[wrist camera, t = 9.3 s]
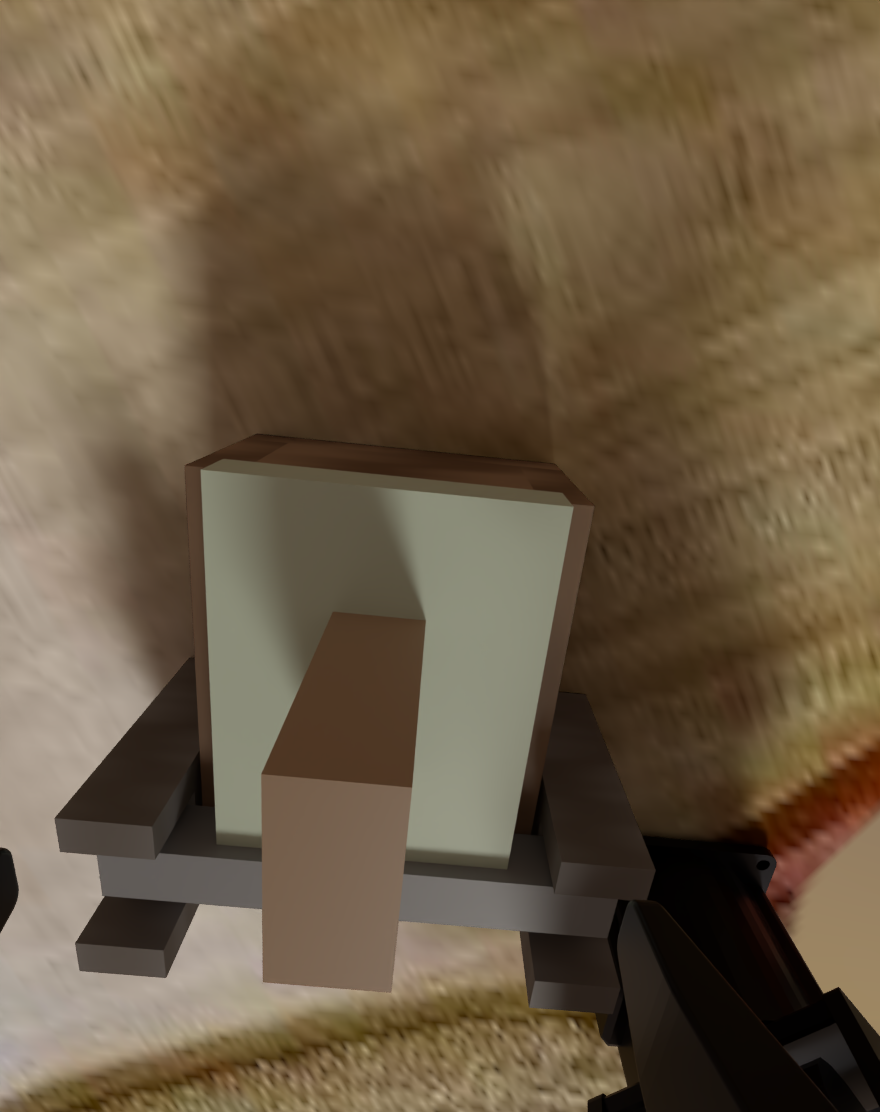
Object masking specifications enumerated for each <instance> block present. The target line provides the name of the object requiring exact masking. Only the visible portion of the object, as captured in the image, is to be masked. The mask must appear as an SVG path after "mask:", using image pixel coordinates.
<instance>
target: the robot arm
mask: <svg viewBox="0 0 880 1112" xmlns="http://www.w3.org/2000/svg"><path fill="white" fill-rule="evenodd" d="M642 837H643V840H644V842H645V845H646V847H647V850H648V852H649V855H650V857H651V860H652V862H653V865H654V867H655V870H656V871H655V874H654V878H653V881H652V884H651V888H650V891H649V894H648V898H647V900H638V899H633V900H619V899H618V901H617V905H616V909H615V912H614V916H613V919H612V923H611V927H610V930H609V934H608V937H607V940H608V944H609V947H610V951H611V955H612V958H613V962H614V966H615V970H616V973H617V977H618V981H619V984H620V991H619V995H618V998H617V1001H616V1005H615V1008H614V1011H613V1014H605V1013H595V1014H596V1019H597V1023H598V1028H599V1032H600V1036H601V1038H602V1039H603V1040H604V1042H605V1043H606V1044H607V1045H608V1046H617V1047H618V1050H619V1054H620V1058H621V1062H622V1066H623V1071H624V1075H625V1079H626V1083H627V1087H626V1088H623V1089H621V1090H619V1091H617V1092H614V1093H612V1094H610V1095H608V1096H606V1095H605V1094H601V1095H598V1096H596V1097H594V1098H592V1099H590V1100H588V1112H880V1036H879V1035H878V1034H877V1033H876V1031H875V1030H874V1029H873V1028H872V1027H871V1025H870V1024H869V1023H868V1022H867V1020H866V1019H865V1018H864V1017H863V1016H862V1014H861V1013H860V1012H859V1011H858V1009H857V1008H856V1007H855V1006H854V1005H853V1003H852V1002H851V1001H850V1000H849V999H848V997H847V996H846V995H845V994H844V993H843V991H842V990H841V989H840V988H839V987H838V988H835V989H833V990H831V991H829V992H827V993H824V994H823V992H822V990H821V989H820V987H819V985H818V984H817V982H816V980H815V978H814V977H813V975H812V973H811V972H810V970H809V968H808V967H807V965H806V963H805V961H804V960H803V958H802V956H801V954H800V953H799V951H798V949H797V948H796V946H795V944H794V942H793V941H792V939H791V937H790V936H789V934H788V932H787V930H786V929H785V927H784V925H783V924H782V922H781V920H780V918H779V917H778V915H777V913H776V912H775V910H774V908H773V906H772V905H771V903H770V901H769V900H768V898H767V896H766V894H765V893H766V891H767V888H768V886H769V883H770V880H771V878H772V875H773V873H774V870H775V868H776V863H777V862H776V860H775V858H774V857H773V855H772V854H771V852H770V850H768V849H767V848H765V847H760V846H749V845H737V844H726V843H715V842H703V841H692V840H680V839H669V838H657V837H646V836H642ZM18 891H19V888H18V882H17V878H16V873H15V868H14V863H13V858H12V854H11V852H10V851H9V850H8V849H6V848H0V933H1V931H2V929H3V927H4V925H5V924H6V922H7V920H8V918H9V916H10V915H11V913H12V911H13V909H14V907H15V904H16V902H17V898H18Z"/></svg>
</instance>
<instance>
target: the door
mask: <svg viewBox="0 0 880 1112" xmlns="http://www.w3.org/2000/svg"><path fill="white" fill-rule="evenodd" d="M201 491H202V514H203V537H204V561H205V584H206V608H207V631H208V654H209V678H210V701H211V724H212V748H213V771H214V794H215V807H208V806H197V805H187V806H186V807H185V809H184V811H183V812H182V814H181V816H180V818H179V819H178V821H177V823H176V825H175V826H174V828H173V830H172V832H171V833H170V835H169V837H168V839H167V840H166V842H165V844H164V846H163V847H162V849H161V851H160V853H159V854H158V856H157V858H156V859H155V860H150V859H138V858H126V857H114V856H103V855H97V859H98V867H99V874H100V881H101V889H102V896H111V897H123V898H135V899H147V900H159V901H171V902H182V903H194V904H206V905H218V906H230V907H242V908H254V909H262V935H263V982H267V983H279V984H291V985H304V986H316V987H328V988H340V989H353V990H365V991H377V992H389V993H391V990H392V980H393V970H394V960H395V951H396V941H397V931H398V921H408V922H420V923H431V924H443V925H455V926H467V927H479V928H491V929H503V930H514V931H526V932H538V933H550V934H562V935H574V936H586V937H597V938H607V937H608V934H609V930H610V927H611V923H612V919H613V916H614V912H615V909H616V905H617V901H618V899H607V898H596V897H584V896H572V895H560V894H554V889H553V884H552V879H551V874H550V869H549V864H548V858H547V853H546V848H545V843H544V838H543V836H538V835H527V834H515V833H514V829H515V824H516V819H517V813H518V808H519V802H520V797H521V791H522V786H523V780H524V775H525V769H526V764H527V759H528V753H529V748H530V742H531V737H532V731H533V726H534V720H535V715H536V710H537V704H538V699H539V693H540V688H541V682H542V677H543V671H544V666H545V660H546V655H547V650H548V644H549V639H550V633H551V628H552V622H553V617H554V611H555V606H556V601H557V595H558V590H559V584H560V579H561V573H562V568H563V562H564V557H565V551H566V546H567V541H568V535H569V530H570V524H571V519H572V513H573V508H574V507H573V506H572V504H571V503H570V502H569V501H568V499H567V498H566V497H565V496H564V494H563V493H559V492H549V491H539V490H529V489H519V488H509V487H499V486H489V485H479V484H469V483H459V482H449V481H439V480H429V479H419V478H409V477H399V476H389V475H379V474H369V473H360V472H350V471H340V470H330V469H320V468H310V467H300V466H290V465H280V464H270V463H260V462H250V461H240V460H230V459H222V460H220V461H218V462H216V463H213V464H211V465H209V466H207V467H205V468H203V469H201Z"/></svg>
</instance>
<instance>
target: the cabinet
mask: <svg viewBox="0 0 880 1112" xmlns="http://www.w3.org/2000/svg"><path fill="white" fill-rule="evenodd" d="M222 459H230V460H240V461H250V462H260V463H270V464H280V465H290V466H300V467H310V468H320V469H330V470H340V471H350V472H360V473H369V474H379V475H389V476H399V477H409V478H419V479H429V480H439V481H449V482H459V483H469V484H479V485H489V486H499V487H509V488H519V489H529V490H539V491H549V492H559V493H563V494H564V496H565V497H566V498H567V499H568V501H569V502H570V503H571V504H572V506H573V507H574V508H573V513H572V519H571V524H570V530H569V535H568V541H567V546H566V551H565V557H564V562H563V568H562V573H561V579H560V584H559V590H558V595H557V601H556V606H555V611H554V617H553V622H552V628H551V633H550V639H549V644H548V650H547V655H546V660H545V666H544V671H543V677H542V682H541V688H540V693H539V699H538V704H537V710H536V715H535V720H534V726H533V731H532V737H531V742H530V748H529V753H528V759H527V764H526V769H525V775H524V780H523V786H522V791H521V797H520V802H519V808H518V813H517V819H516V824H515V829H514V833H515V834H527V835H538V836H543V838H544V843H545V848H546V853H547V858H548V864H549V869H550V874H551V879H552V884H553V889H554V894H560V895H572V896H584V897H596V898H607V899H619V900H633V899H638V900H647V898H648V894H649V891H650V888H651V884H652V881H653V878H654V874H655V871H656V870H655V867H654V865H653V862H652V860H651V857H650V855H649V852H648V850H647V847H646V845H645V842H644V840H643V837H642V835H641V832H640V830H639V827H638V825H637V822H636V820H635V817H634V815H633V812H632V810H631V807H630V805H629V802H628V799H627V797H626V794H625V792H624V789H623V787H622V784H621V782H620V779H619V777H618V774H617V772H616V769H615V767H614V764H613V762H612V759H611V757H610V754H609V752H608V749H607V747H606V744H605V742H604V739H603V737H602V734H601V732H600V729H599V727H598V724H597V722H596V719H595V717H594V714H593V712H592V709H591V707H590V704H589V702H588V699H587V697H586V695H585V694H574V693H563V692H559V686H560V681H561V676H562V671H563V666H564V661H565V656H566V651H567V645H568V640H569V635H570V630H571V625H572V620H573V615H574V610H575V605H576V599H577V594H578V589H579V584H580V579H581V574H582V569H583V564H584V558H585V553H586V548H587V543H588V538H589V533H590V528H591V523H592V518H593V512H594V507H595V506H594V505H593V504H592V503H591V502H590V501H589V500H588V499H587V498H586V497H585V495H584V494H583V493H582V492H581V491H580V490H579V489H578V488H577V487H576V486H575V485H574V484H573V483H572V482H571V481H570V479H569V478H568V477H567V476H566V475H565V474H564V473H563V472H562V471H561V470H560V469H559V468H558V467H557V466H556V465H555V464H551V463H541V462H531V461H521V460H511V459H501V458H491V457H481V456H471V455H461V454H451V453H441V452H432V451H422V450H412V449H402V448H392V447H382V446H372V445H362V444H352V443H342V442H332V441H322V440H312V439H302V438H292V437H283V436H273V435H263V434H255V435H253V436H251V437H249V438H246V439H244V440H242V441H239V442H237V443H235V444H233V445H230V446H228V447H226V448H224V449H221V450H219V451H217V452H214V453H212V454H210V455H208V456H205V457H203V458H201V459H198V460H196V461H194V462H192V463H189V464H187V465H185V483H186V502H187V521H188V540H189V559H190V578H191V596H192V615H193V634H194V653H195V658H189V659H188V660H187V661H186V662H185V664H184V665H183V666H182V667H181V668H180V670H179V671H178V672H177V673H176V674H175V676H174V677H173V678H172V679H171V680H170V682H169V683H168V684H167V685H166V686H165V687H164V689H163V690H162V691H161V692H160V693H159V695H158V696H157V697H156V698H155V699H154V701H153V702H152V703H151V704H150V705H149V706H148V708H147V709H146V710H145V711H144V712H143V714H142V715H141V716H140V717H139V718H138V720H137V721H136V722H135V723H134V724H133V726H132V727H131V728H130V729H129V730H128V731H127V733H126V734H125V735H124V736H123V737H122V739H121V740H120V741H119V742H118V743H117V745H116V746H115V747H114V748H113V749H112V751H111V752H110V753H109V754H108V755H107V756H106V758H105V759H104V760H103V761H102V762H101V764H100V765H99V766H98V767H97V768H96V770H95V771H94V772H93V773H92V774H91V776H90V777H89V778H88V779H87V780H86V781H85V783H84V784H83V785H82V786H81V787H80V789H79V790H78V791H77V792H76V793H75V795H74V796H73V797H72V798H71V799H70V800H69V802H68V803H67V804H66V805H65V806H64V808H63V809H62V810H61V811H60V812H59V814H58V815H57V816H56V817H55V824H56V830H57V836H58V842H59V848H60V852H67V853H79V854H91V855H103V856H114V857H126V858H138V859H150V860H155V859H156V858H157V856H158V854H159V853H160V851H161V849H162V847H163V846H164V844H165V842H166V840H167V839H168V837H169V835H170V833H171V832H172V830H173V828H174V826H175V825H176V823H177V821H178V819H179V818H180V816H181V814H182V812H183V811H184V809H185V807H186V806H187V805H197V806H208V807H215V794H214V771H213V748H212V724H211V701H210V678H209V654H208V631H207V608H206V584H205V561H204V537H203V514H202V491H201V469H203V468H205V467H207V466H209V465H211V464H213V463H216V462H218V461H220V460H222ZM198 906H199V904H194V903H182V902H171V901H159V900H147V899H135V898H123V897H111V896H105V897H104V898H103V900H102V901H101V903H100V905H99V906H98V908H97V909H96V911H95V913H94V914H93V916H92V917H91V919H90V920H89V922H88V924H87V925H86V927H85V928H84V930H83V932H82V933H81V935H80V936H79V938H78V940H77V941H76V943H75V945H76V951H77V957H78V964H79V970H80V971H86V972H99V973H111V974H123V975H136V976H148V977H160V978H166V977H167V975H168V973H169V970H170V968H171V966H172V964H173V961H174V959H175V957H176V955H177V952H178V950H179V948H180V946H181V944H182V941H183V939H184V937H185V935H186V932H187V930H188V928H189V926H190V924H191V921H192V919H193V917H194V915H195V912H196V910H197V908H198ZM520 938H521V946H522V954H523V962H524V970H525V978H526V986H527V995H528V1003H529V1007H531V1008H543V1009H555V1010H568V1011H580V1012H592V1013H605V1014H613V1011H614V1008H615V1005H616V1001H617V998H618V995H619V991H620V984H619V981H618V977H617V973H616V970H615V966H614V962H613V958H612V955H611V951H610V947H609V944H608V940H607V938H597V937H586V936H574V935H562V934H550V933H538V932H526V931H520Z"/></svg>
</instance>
